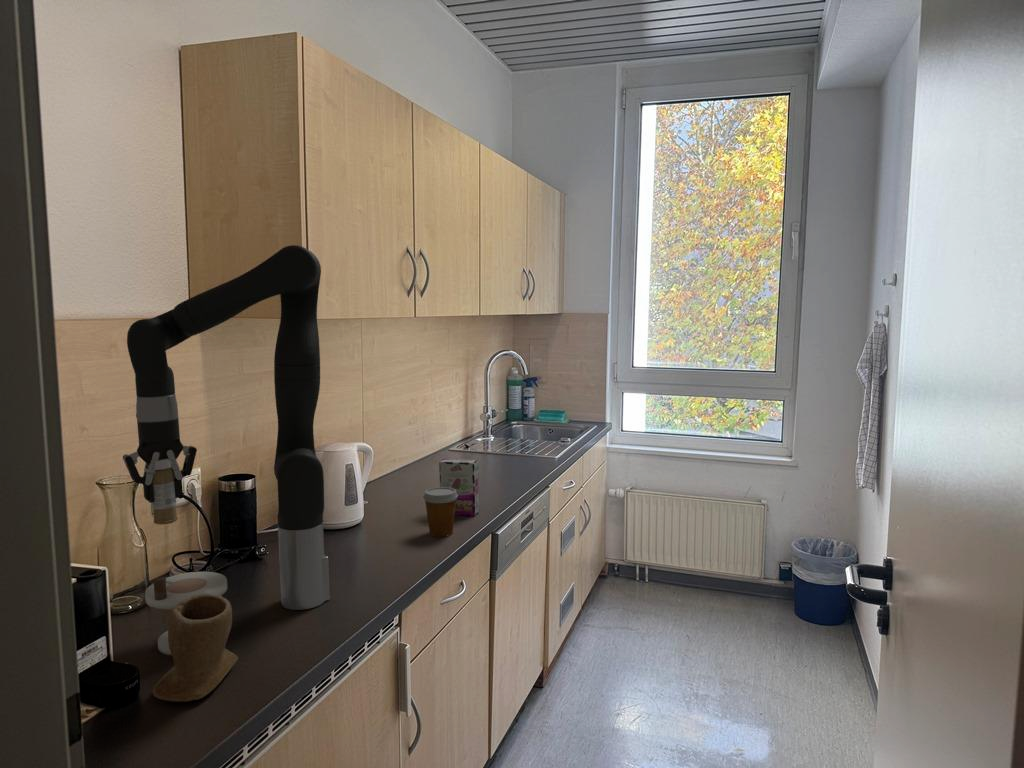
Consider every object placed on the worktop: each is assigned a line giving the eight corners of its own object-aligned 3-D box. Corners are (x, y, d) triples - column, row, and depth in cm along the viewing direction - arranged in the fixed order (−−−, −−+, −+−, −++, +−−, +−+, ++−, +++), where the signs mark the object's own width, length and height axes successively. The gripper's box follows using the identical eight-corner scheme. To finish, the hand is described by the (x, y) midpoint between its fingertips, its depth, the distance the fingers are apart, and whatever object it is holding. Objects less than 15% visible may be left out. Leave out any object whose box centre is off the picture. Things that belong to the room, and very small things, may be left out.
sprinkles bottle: (172, 517, 149) (167, 454, 147) (181, 521, 146) (176, 457, 144) (149, 522, 146) (144, 458, 144) (158, 527, 143) (153, 461, 141)
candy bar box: (479, 512, 216) (479, 459, 214) (475, 516, 211) (474, 463, 209) (445, 509, 219) (444, 457, 217) (439, 514, 214) (438, 461, 212)
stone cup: (213, 710, 112) (208, 619, 110) (142, 706, 113) (136, 616, 111) (257, 661, 127) (253, 581, 125) (194, 658, 128) (189, 579, 126)
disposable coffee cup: (450, 540, 190) (449, 497, 189) (418, 537, 193) (417, 494, 192) (463, 529, 199) (463, 488, 198) (433, 526, 202) (432, 485, 201)
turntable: (187, 575, 142) (186, 551, 142) (243, 584, 137) (241, 559, 137) (127, 602, 129) (125, 576, 129) (186, 614, 124) (185, 586, 124)
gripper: (122, 424, 136) (129, 510, 138) (200, 415, 145) (206, 496, 147) (114, 419, 142) (121, 502, 144) (189, 411, 151) (195, 489, 153)
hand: (164, 499), depth 145 cm, fingers closed on sprinkles bottle, 4 cm apart
